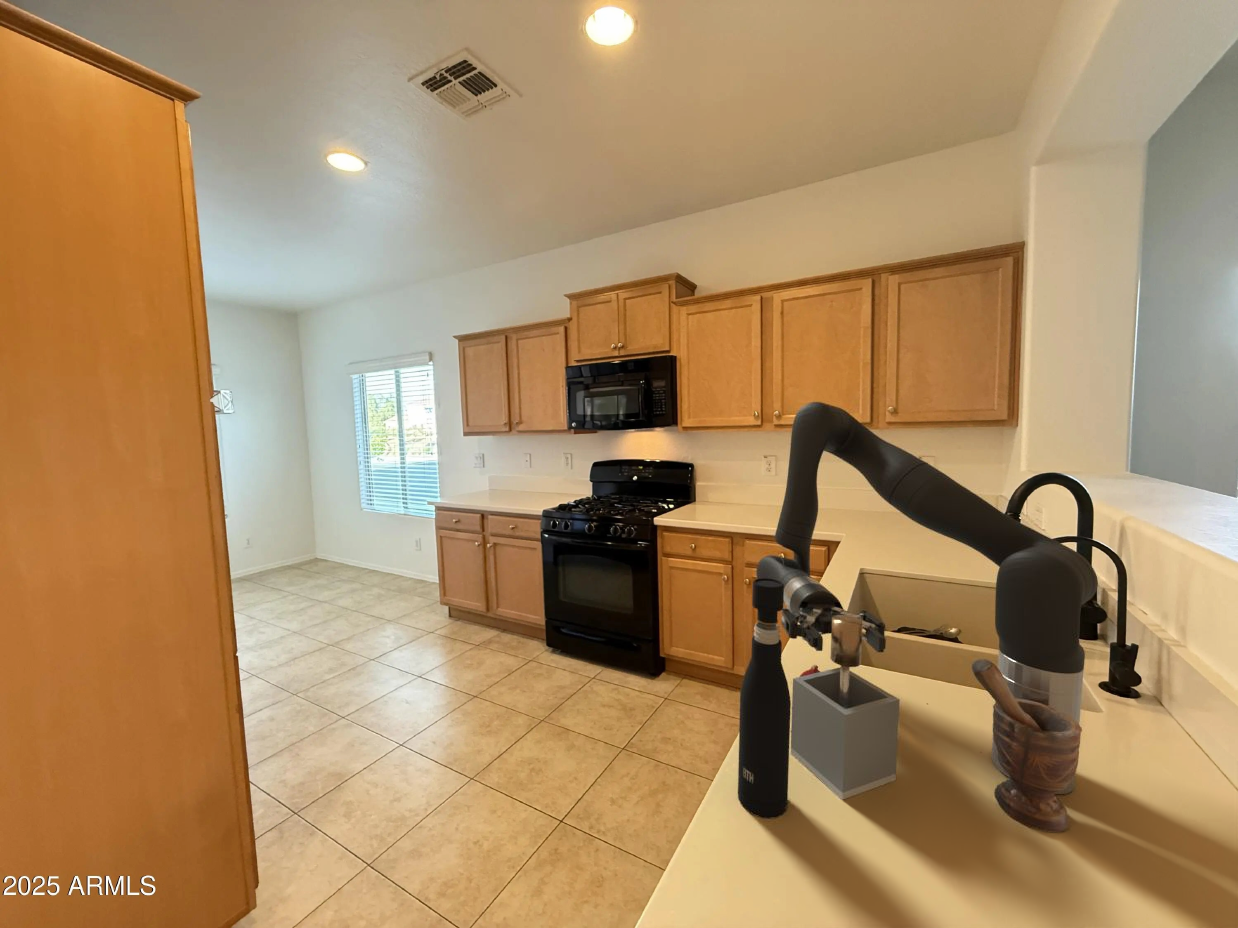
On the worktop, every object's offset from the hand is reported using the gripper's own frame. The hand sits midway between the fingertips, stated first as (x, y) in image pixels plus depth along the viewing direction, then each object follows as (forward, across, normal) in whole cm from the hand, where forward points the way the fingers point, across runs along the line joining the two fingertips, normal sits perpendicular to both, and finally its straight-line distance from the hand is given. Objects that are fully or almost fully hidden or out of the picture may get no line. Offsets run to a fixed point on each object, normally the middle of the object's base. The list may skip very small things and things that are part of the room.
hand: (851, 645), depth 69 cm
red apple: (-16, +1, +20) cm, 25 cm away
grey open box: (-2, 0, +19) cm, 19 cm away
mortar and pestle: (+6, +20, +20) cm, 28 cm away
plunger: (-2, 0, +16) cm, 16 cm away
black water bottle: (+5, -13, +20) cm, 24 cm away
